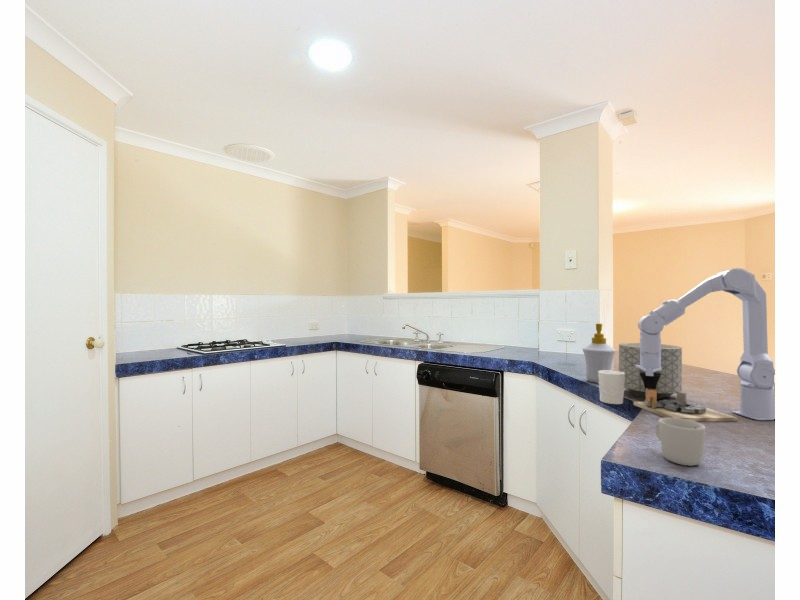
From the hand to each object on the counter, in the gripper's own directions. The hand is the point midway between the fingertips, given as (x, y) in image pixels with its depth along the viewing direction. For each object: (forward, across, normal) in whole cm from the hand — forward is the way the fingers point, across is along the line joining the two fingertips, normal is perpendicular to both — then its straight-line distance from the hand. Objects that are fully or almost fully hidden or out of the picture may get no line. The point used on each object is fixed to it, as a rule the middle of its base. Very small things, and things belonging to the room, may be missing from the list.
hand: (650, 395), depth 124 cm
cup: (+4, +46, +6) cm, 47 cm away
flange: (+2, +2, +6) cm, 7 cm away
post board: (+4, +2, +8) cm, 9 cm away
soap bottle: (+4, -35, -19) cm, 40 cm away
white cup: (+4, 0, -11) cm, 12 cm away
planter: (+4, -18, -1) cm, 18 cm away
